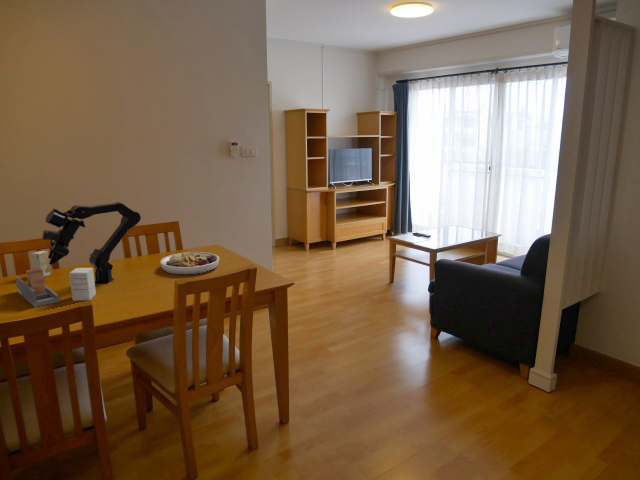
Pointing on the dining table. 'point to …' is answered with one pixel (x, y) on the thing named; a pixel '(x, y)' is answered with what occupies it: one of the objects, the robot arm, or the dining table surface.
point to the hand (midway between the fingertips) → (49, 261)
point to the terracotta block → (36, 280)
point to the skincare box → (41, 262)
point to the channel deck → (36, 299)
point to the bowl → (189, 262)
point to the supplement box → (82, 284)
